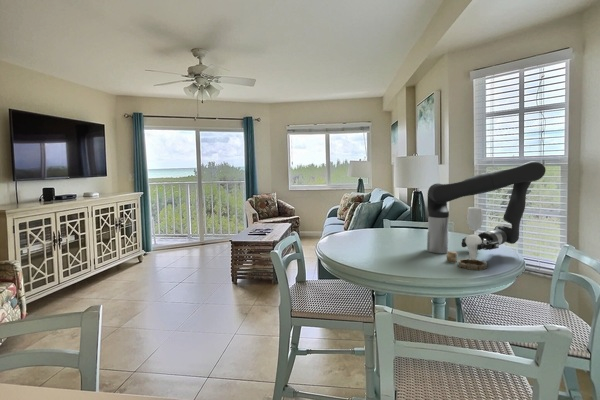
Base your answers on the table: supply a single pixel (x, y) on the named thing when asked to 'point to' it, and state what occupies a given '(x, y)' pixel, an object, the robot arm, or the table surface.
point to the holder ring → (472, 264)
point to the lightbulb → (473, 245)
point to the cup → (474, 218)
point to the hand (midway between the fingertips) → (470, 246)
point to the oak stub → (451, 256)
